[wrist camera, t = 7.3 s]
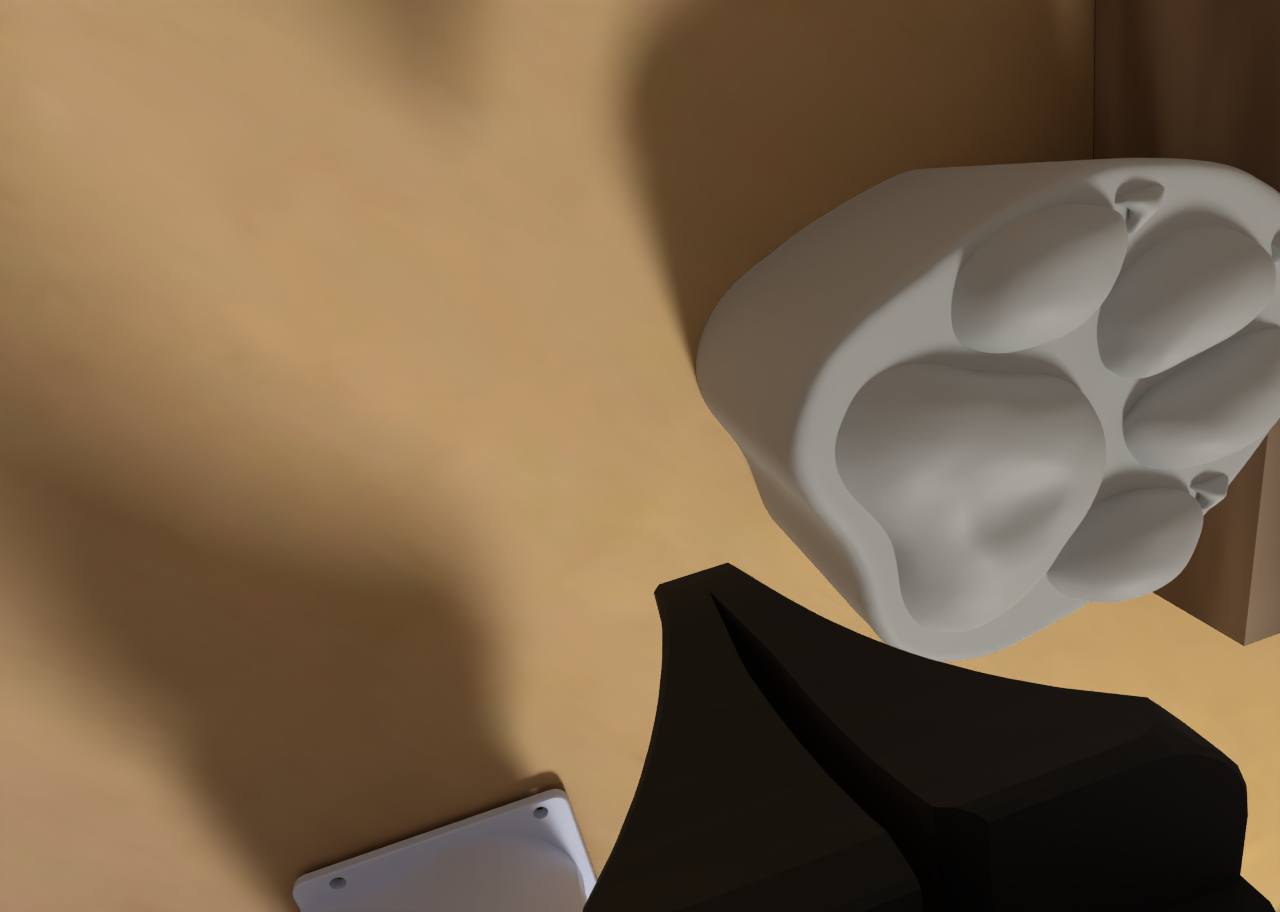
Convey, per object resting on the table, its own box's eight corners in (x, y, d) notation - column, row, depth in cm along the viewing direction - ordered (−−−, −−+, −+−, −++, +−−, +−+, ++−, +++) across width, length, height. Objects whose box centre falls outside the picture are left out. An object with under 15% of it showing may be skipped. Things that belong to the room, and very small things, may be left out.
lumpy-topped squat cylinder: (657, 319, 21) (770, 397, 13) (1039, 77, 21) (1384, 7, 13) (803, 576, 25) (956, 755, 17) (1122, 374, 25) (1424, 458, 17)
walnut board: (1088, 554, 27) (1244, 646, 22) (1096, -70, 20) (1335, -170, 14) (1135, 538, 28) (1300, 625, 22) (1161, -85, 20) (1420, -188, 15)
